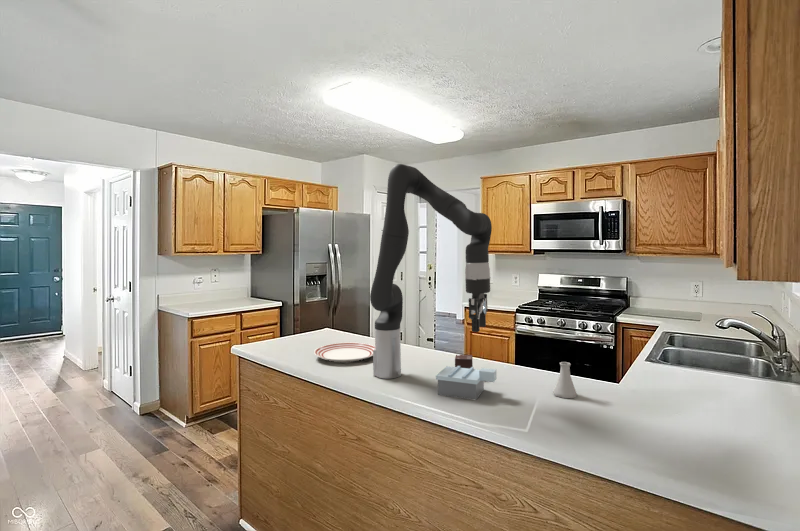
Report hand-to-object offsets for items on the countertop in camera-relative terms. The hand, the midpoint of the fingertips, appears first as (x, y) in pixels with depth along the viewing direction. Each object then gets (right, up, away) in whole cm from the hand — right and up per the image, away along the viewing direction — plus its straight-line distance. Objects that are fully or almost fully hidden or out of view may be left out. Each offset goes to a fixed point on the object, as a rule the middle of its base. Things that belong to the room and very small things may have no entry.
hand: (479, 329), depth 134 cm
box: (-2, -20, +19) cm, 28 cm away
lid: (-3, -15, +1) cm, 16 cm away
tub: (-5, -21, +2) cm, 21 cm away
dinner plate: (-47, -20, +50) cm, 71 cm away
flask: (+27, -21, 0) cm, 34 cm away
